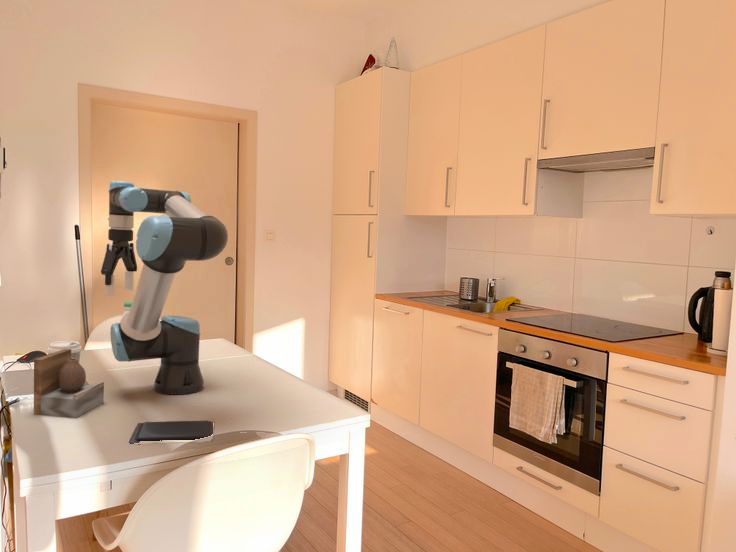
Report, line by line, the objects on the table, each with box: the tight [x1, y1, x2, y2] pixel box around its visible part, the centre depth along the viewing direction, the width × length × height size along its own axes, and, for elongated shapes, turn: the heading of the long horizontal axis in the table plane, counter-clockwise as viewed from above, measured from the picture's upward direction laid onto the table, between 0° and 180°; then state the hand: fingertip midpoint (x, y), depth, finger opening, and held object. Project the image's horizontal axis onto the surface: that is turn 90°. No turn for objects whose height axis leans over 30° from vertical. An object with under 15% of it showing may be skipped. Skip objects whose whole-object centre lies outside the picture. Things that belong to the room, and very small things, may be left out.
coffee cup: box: [46, 340, 83, 363], centre depth 173 cm, size 10×10×15 cm
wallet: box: [128, 420, 213, 445], centre depth 146 cm, size 20×2×15 cm
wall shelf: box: [33, 349, 105, 419], centre depth 159 cm, size 12×14×15 cm
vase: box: [58, 359, 87, 392], centre depth 159 cm, size 7×7×9 cm
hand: (119, 292), depth 190 cm, fingers open, 13 cm apart
